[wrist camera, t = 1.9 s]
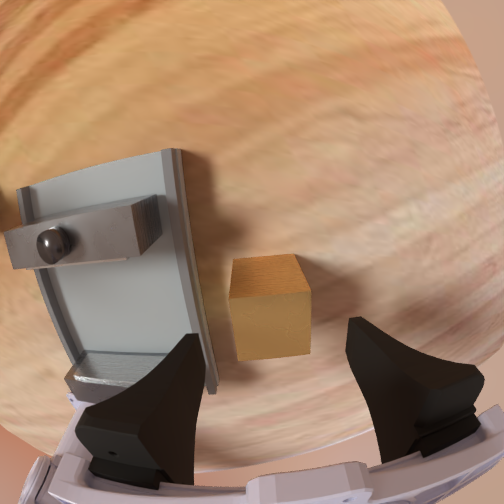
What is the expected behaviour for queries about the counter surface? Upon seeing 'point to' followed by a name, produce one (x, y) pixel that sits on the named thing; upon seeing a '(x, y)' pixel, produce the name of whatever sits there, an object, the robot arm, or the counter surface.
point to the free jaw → (86, 234)
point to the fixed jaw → (108, 373)
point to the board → (125, 265)
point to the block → (270, 307)
